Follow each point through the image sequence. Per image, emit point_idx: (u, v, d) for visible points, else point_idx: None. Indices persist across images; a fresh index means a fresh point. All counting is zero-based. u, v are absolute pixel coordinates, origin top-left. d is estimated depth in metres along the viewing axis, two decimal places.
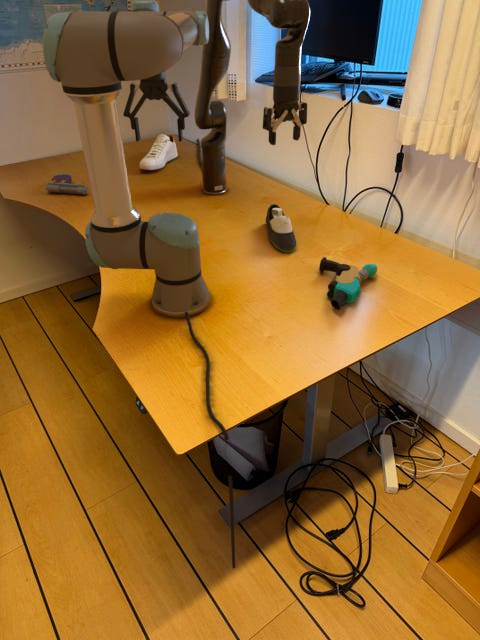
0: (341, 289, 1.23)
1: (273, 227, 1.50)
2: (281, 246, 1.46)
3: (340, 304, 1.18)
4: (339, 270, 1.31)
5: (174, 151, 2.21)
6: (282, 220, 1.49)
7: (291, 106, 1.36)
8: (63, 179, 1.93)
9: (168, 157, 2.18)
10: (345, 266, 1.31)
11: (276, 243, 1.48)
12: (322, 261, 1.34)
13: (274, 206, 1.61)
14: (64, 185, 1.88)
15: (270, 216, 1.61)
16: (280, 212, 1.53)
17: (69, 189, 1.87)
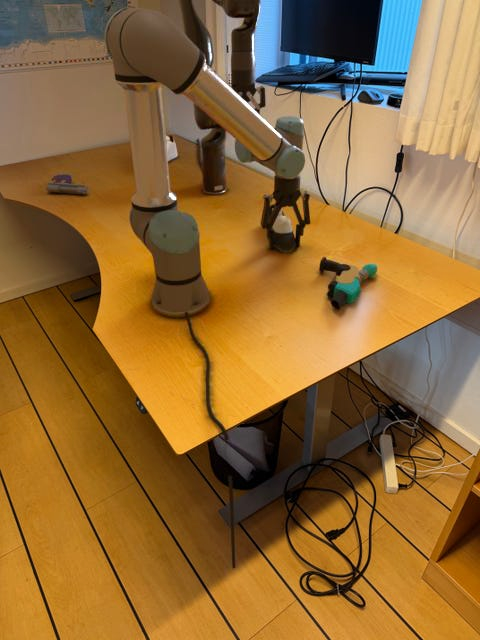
0: (341, 289, 1.23)
1: (273, 227, 1.50)
2: (281, 246, 1.46)
3: (340, 304, 1.18)
4: (339, 270, 1.31)
5: (174, 151, 2.21)
6: (282, 220, 1.49)
7: (247, 89, 1.51)
8: (63, 179, 1.93)
9: (168, 157, 2.18)
10: (345, 266, 1.31)
11: (276, 243, 1.48)
12: (322, 261, 1.34)
13: None
14: (64, 185, 1.88)
15: None
16: (280, 212, 1.53)
17: (69, 189, 1.87)
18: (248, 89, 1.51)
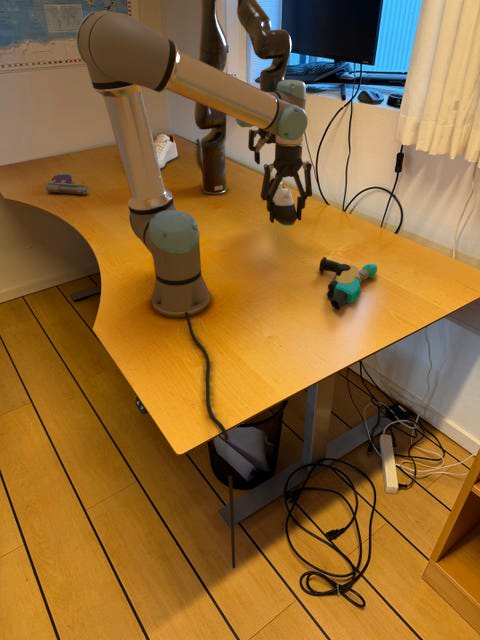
0: (341, 289, 1.23)
1: None
2: (282, 219, 1.41)
3: (340, 304, 1.18)
4: (339, 270, 1.31)
5: (174, 151, 2.21)
6: (282, 192, 1.43)
7: None
8: (63, 179, 1.93)
9: (168, 157, 2.18)
10: (345, 266, 1.31)
11: (276, 216, 1.42)
12: (322, 261, 1.34)
13: None
14: (64, 185, 1.88)
15: None
16: (281, 185, 1.48)
17: (69, 189, 1.87)
18: None
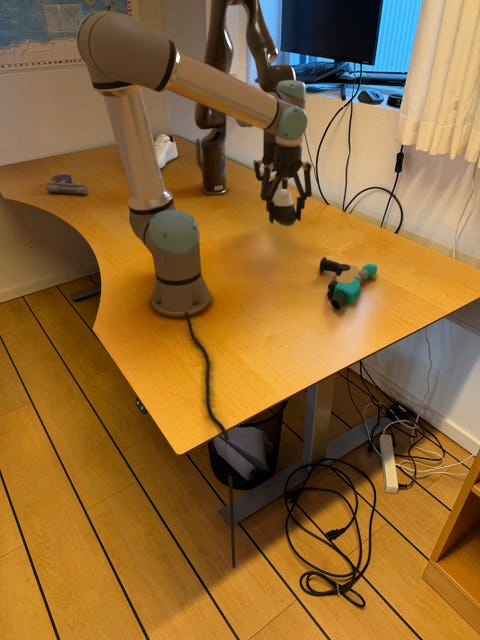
0: (341, 289, 1.23)
1: (273, 200, 1.45)
2: (281, 219, 1.41)
3: (340, 304, 1.18)
4: (339, 270, 1.31)
5: (174, 151, 2.21)
6: (282, 193, 1.43)
7: None
8: (63, 179, 1.93)
9: (168, 157, 2.18)
10: (345, 266, 1.31)
11: (276, 216, 1.42)
12: (322, 261, 1.34)
13: None
14: (64, 185, 1.88)
15: None
16: (280, 186, 1.48)
17: (69, 189, 1.87)
18: None
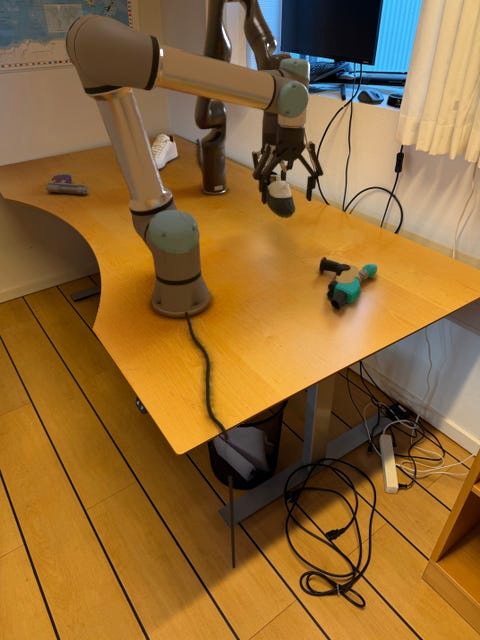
0: (341, 289, 1.23)
1: (271, 192, 1.43)
2: (279, 211, 1.40)
3: (340, 304, 1.18)
4: (339, 270, 1.31)
5: (174, 151, 2.21)
6: (280, 185, 1.42)
7: None
8: (63, 179, 1.93)
9: (168, 157, 2.18)
10: (345, 266, 1.31)
11: (274, 208, 1.41)
12: (322, 261, 1.34)
13: (272, 173, 1.55)
14: (64, 185, 1.88)
15: (268, 184, 1.55)
16: (278, 178, 1.47)
17: (69, 189, 1.87)
18: None
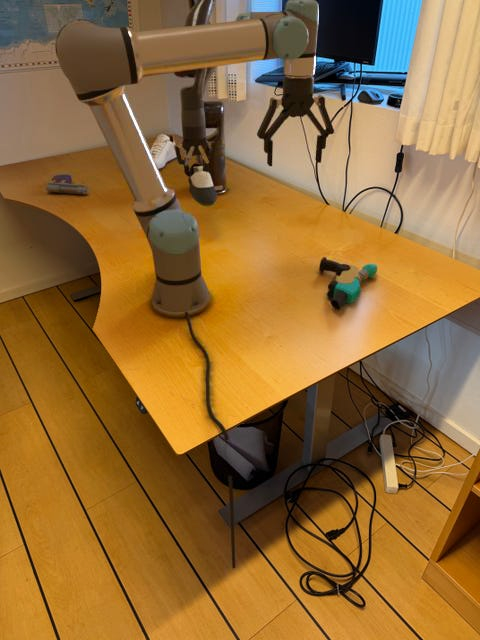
0: (341, 289, 1.23)
1: (193, 183, 1.50)
2: (202, 200, 1.47)
3: (340, 304, 1.18)
4: (339, 270, 1.31)
5: (174, 151, 2.21)
6: (202, 175, 1.50)
7: (199, 142, 1.54)
8: (63, 179, 1.93)
9: (168, 157, 2.18)
10: (345, 266, 1.31)
11: (197, 198, 1.48)
12: (322, 261, 1.34)
13: (196, 165, 1.62)
14: (64, 185, 1.88)
15: None
16: (201, 169, 1.54)
17: (69, 189, 1.87)
18: (199, 143, 1.55)
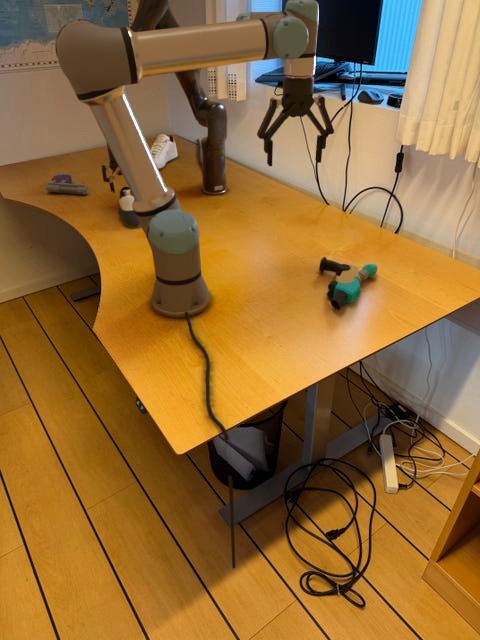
0: (341, 289, 1.23)
1: (121, 206, 1.65)
2: (128, 222, 1.62)
3: (340, 304, 1.18)
4: (339, 270, 1.31)
5: (174, 151, 2.21)
6: (128, 199, 1.64)
7: None
8: (63, 179, 1.93)
9: (168, 157, 2.18)
10: (345, 266, 1.31)
11: (124, 220, 1.63)
12: (322, 261, 1.34)
13: (126, 188, 1.76)
14: (64, 185, 1.88)
15: None
16: (128, 192, 1.69)
17: (69, 189, 1.87)
18: None
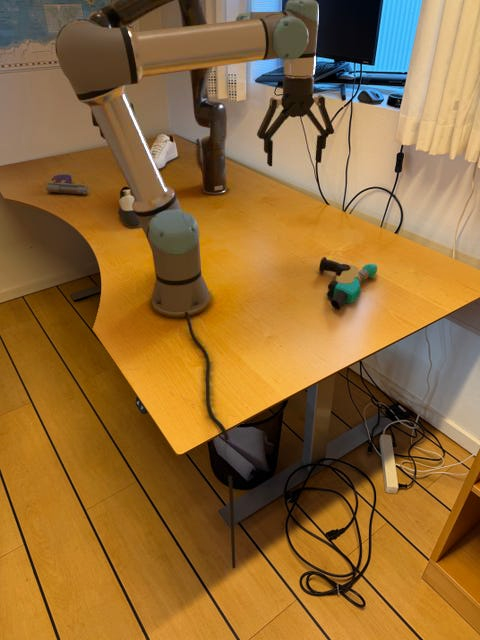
0: (341, 289, 1.23)
1: (121, 206, 1.65)
2: (128, 222, 1.62)
3: (340, 304, 1.18)
4: (339, 270, 1.31)
5: (174, 151, 2.21)
6: (128, 199, 1.64)
7: None
8: (63, 179, 1.93)
9: (168, 157, 2.18)
10: (345, 266, 1.31)
11: (124, 220, 1.63)
12: (322, 261, 1.34)
13: (126, 188, 1.76)
14: (64, 185, 1.88)
15: None
16: (128, 192, 1.69)
17: (69, 189, 1.87)
18: None
